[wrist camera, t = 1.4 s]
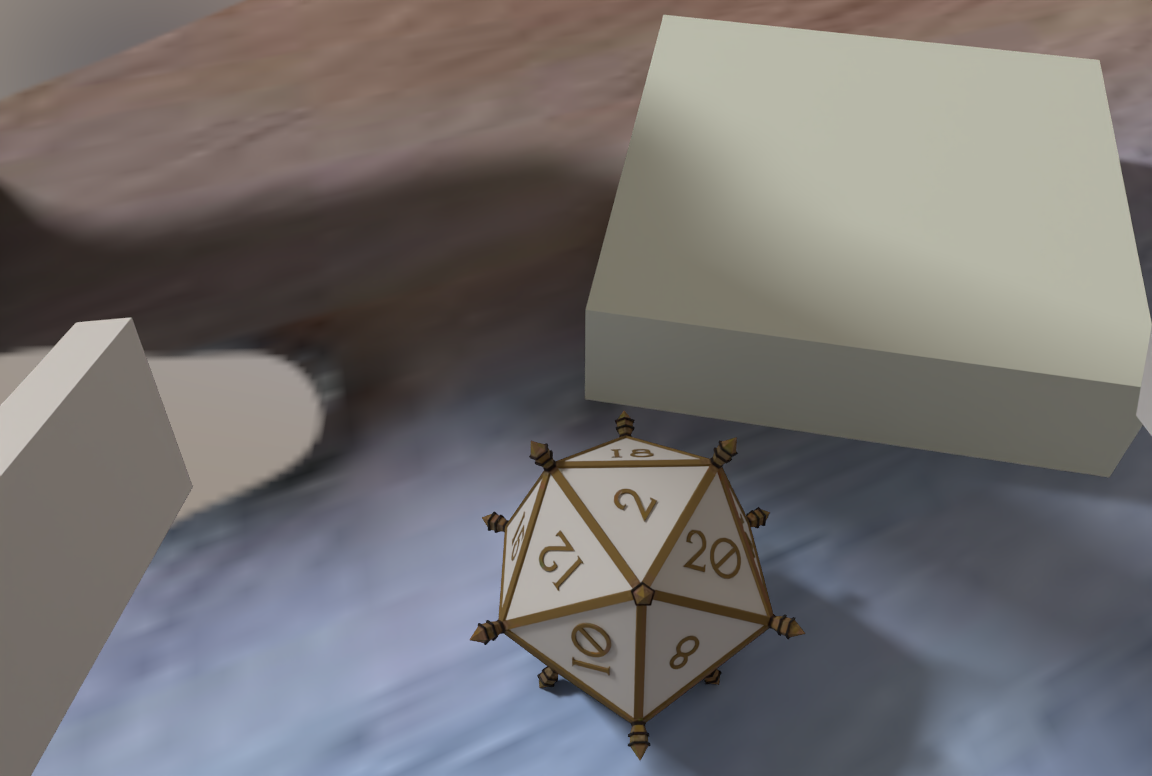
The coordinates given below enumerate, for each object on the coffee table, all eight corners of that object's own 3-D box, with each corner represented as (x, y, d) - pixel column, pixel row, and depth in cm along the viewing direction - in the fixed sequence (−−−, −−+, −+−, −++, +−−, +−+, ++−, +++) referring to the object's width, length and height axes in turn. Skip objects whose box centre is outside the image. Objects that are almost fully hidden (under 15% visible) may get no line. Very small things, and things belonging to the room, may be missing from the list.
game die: (655, 646, 37) (837, 427, 33) (681, 864, 30) (920, 616, 25) (418, 537, 35) (583, 287, 30) (381, 745, 27) (592, 451, 23)
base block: (584, 406, 39) (585, 309, 36) (657, 112, 51) (663, 14, 47) (1104, 485, 37) (1165, 390, 33) (1058, 158, 49) (1099, 60, 45)
